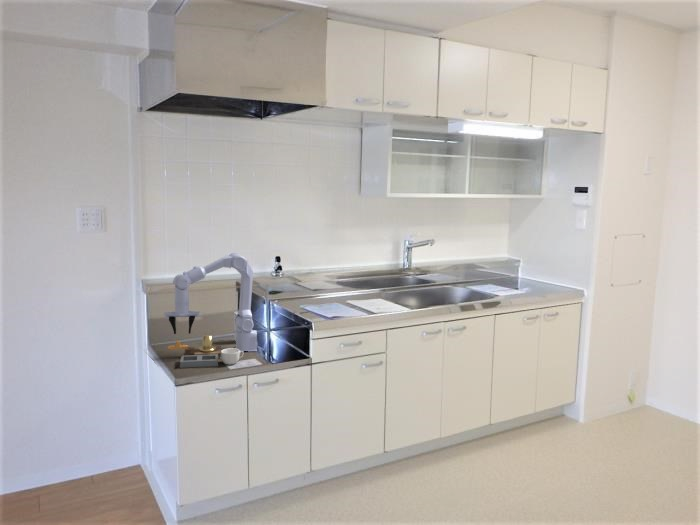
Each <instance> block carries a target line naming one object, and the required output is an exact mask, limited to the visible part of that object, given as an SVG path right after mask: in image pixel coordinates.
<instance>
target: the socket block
mask: <svg viewBox="0 0 700 525" xmlns="http://www.w3.org/2000/svg"><path fill="white" fill-rule="evenodd" d="M200 347H201V346H188V349H184V356H186V355H211V354H218V360H221V358H220V357H221V350H222V349H221V347H222V346H221V345H214V347H216V350H215V351H212V352H201V351H200V350H199V348H200Z"/></svg>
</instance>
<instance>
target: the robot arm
mask: <svg viewBox="0 0 700 525" xmlns="http://www.w3.org/2000/svg"><path fill="white" fill-rule="evenodd" d="M222 268H228V269H231V268H232V269H234V270H236V271H237V272H238V273H239V275H240V287H239V290H240V291H239V292H240V293H239V306H238V310H237V311H236V312H237V316H236V318H235V324H236V326H237V329H236V342H235V344H236V345H235V347H234V348H236V349H239V350H240V351H243V352H244V351H248V352H257V351H258V349H257V348H258V338H257V337H258V334H257V333H258V330H255V329H253V328H254V326H255V324H254V321H253V314H252V313H253V312H252V310H251V307H252V292H253V280H254V279H253V278H254V271H253V269H252V267H251V265H250V263H249V260H248V259H247V258H246V257H244V256H243V255H240V254H238V253H236V252H232V253H230V254H227V255H224V256H222V257H220V258H219V259H217V260H214V261H213V262H211V263H209V264H207V265H204V266H203V267H201V266H196V265H194V266H193V267H192V269H190V270H188V271H183V272H182V273H179V274H177V275H175V277H174V278H173V280H172V283H173V285H174V311H168V312H167V311H165V312H163V313H164V314H163V318H164V319H167V318H168V321H169V323H170V325H171V327H172V330H173V334H174V335H176V334H177V327H176V326H177V325H176V321H177V320H176V318H188V334H189V335H190V334H191V333H192V332H191V331H192V327H193V324H194V321H195V318H200V315H201V314H200V311H191V310H190V299H189V298H190V297H189V287H190V285H193V284H195V283H197V282H199V281H201V280H204V279H205V278H206V276H207V275H208V274H210V273H213V272H214V271H218V270H219V269H222Z"/></svg>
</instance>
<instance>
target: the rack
mask: <svg viewBox="0 0 700 525" xmlns="http://www.w3.org/2000/svg"><path fill="white" fill-rule="evenodd" d="M186 367H187V368H206V367H207V368H208V367H219V359H218V354H211V355H186V356H185V355H181V357H180V361H179V368H180V369H181V368H183V369H184V368H186Z"/></svg>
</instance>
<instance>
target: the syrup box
mask: <svg viewBox="0 0 700 525" xmlns="http://www.w3.org/2000/svg"><path fill="white" fill-rule="evenodd" d="M237 312H238V311H234V312H233V335H234V336H233V339H234V340H235V341H236V329H237V326H236V324H235V318H236V316H237ZM235 341H234V342H235Z"/></svg>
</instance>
